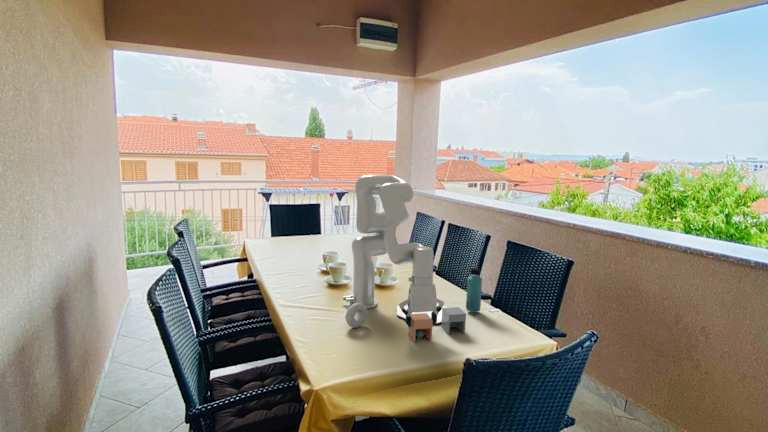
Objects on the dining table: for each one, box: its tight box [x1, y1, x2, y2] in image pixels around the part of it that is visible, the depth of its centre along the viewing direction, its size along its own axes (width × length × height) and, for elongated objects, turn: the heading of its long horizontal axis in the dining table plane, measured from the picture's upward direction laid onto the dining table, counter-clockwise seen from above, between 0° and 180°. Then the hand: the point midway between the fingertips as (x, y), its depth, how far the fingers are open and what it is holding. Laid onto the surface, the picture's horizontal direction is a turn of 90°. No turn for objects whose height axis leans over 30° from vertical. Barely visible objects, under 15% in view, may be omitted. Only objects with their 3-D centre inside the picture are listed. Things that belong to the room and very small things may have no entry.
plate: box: [396, 303, 448, 325], centre depth 173 cm, size 24×24×2 cm
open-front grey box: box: [441, 306, 467, 336], centre depth 157 cm, size 7×7×8 cm
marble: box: [415, 330, 425, 339], centre depth 150 cm, size 3×3×3 cm
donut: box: [345, 303, 368, 329], centre depth 157 cm, size 10×4×10 cm, turn 132°
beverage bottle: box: [465, 267, 483, 313], centre depth 175 cm, size 6×7×20 cm
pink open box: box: [407, 313, 434, 343], centre depth 150 cm, size 7×7×8 cm
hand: (421, 324), depth 149 cm, fingers open, 9 cm apart
